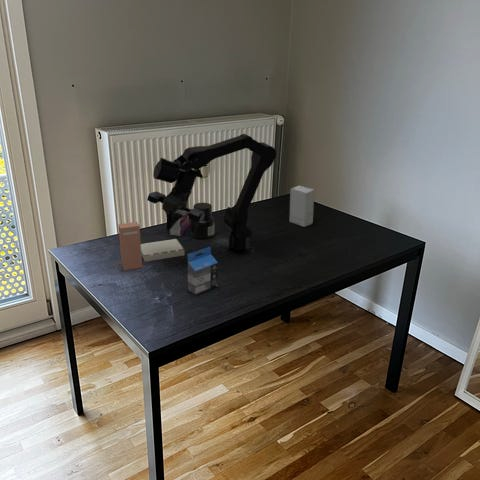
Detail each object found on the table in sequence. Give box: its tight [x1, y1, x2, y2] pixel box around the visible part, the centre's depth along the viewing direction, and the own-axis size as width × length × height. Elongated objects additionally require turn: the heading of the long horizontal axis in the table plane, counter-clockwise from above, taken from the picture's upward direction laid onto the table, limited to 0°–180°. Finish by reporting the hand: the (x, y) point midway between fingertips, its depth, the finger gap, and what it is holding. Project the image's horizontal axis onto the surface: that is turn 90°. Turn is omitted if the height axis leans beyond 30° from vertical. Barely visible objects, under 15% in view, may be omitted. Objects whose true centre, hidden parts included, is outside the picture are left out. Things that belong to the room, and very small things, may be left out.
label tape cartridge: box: [187, 246, 219, 295], centre depth 144 cm, size 9×4×12 cm, turn 131°
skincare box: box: [288, 185, 315, 228], centre depth 194 cm, size 8×6×15 cm
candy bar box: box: [169, 198, 191, 237], centre depth 183 cm, size 11×5×16 cm, turn 168°
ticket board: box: [141, 238, 186, 263], centre depth 168 cm, size 14×10×2 cm
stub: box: [117, 221, 143, 271], centre depth 155 cm, size 6×4×15 cm, turn 113°
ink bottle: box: [190, 202, 215, 240], centre depth 181 cm, size 10×9×12 cm
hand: (168, 230), depth 158 cm, fingers closed
